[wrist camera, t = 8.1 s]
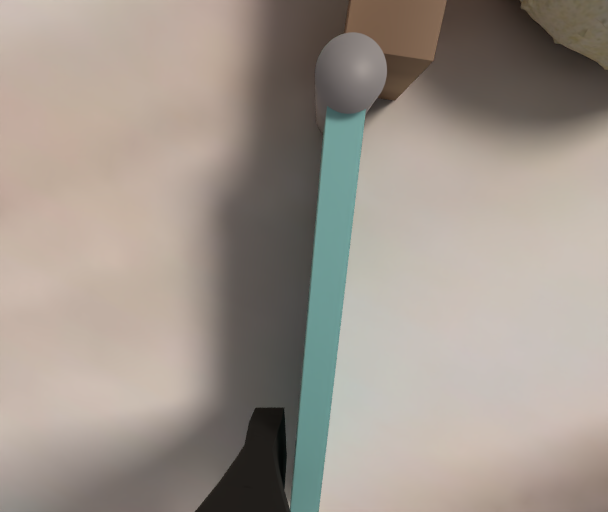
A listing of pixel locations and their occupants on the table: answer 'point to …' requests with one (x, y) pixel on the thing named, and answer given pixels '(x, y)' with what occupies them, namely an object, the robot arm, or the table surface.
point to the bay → (399, 36)
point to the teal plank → (331, 241)
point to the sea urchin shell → (574, 24)
